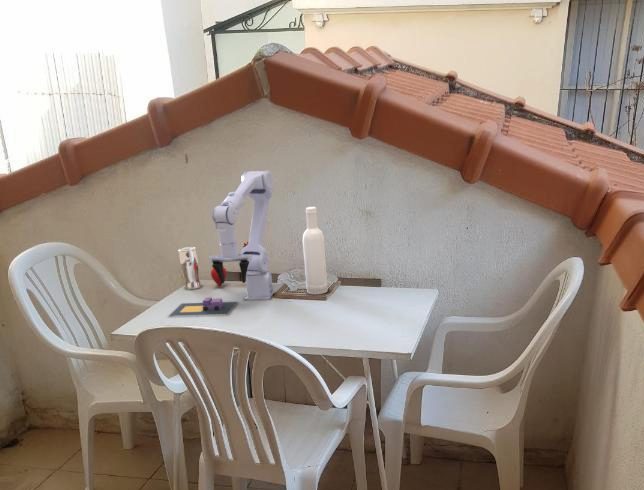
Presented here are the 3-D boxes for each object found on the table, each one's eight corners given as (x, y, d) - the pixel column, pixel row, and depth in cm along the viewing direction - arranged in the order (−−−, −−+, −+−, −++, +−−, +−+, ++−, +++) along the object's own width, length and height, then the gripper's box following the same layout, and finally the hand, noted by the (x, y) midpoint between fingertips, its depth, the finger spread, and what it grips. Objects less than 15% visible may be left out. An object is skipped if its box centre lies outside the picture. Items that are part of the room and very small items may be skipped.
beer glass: (194, 290, 271) (187, 251, 264) (181, 288, 275) (174, 250, 268) (205, 285, 276) (199, 247, 269) (192, 284, 280) (186, 246, 273)
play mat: (237, 302, 252) (237, 301, 252) (227, 315, 240) (226, 314, 240) (182, 304, 255) (182, 303, 255) (169, 316, 243) (169, 315, 243)
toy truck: (223, 305, 248) (222, 296, 247) (219, 310, 244) (218, 300, 242) (206, 306, 250) (205, 297, 248) (202, 310, 245) (200, 301, 243)
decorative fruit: (230, 283, 276) (227, 258, 271) (224, 288, 269) (220, 263, 264) (216, 283, 277) (212, 258, 272) (210, 289, 270) (206, 263, 266)
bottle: (330, 288, 259) (324, 205, 245) (325, 294, 252) (319, 209, 238) (309, 288, 261) (302, 205, 247) (304, 294, 254) (297, 210, 240)
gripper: (204, 246, 232) (210, 286, 239) (245, 244, 230) (250, 284, 236) (210, 241, 238) (216, 280, 245) (250, 239, 236) (255, 279, 243)
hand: (233, 282), depth 241 cm, fingers open, 7 cm apart
